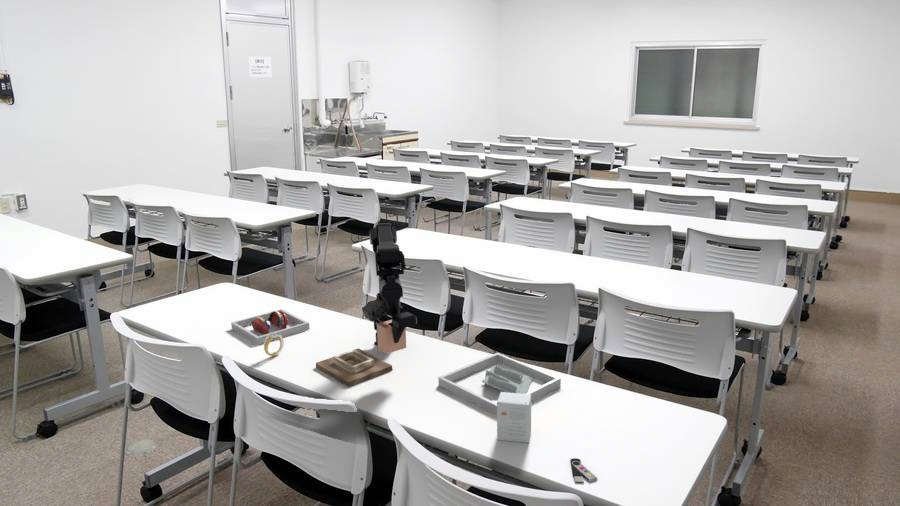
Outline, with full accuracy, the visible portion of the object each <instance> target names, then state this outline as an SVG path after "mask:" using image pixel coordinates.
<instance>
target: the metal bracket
mask: <svg viewBox="0 0 900 506" xmlns="http://www.w3.org/2000/svg"><path fill="white" fill-rule="evenodd" d="M533 381H534V378H533V377H532V376H529V375H527V374H526V375H525V374H521V373H519V372H516V371H514V370H512V369H506V368H502V367H501V366H500V364H496V365H495V366H493V365H492V366H491V368H490V370H488V369H487V370H485V377H484V379H482V381H481V383H483V384H484V386H483V388H485V386H486V385H488V386H490V387H492V388H494V389H496V390H499V391H500V392H507V393H519V394H526V393H528V392H529V388H530V386H531V385H532V383H533Z"/></svg>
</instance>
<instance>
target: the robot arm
mask: <svg viewBox="0 0 900 506" xmlns="http://www.w3.org/2000/svg"><path fill="white" fill-rule="evenodd" d="M397 241H398V235H397V228H396V227H394V226H393V223H390V222H384V223H383V222H382V223H379V222H378V223H377V224H376V223H375V227H373V228H371V229H370V230H369V242H370V243H369V244H370V245H371V246H372V251H373V253H374V262H375V263H374V264H375V273H376V274H375V275H376V276H377V277H378V291H379V292H377V293H376V298H375V299H374V300H369V301H368V302H367V303H366V305H364V306H363V307H361V311H362V313H363V316H364V317H365V319H367V320H369V322H373V328H374V329H373V330H374V331H375V341H374V342H373V343H374V345H376V346H378V339H377V323H381V322H384V321H388V320H392V323H388V325H390V326H391V327H392V331H393V338H394V343H398V342H399V340H400V337H401V335H402V333H403V331H404V329H405V327H406V328H408V327H411V326H412V327H413V326H415V325H417V324H418V318H417V316H416V315H415V314H413V313H411V312H410V311H409V312H408V311H405V312H402V311H404V306H403V305H401V298H403V297H404V293H403V292H404V290H403V286H402V283H401V280H400V275H404V271H406V262H405V260H406V259H405V254H404V252H403V250H400V246H399V244H397Z"/></svg>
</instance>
